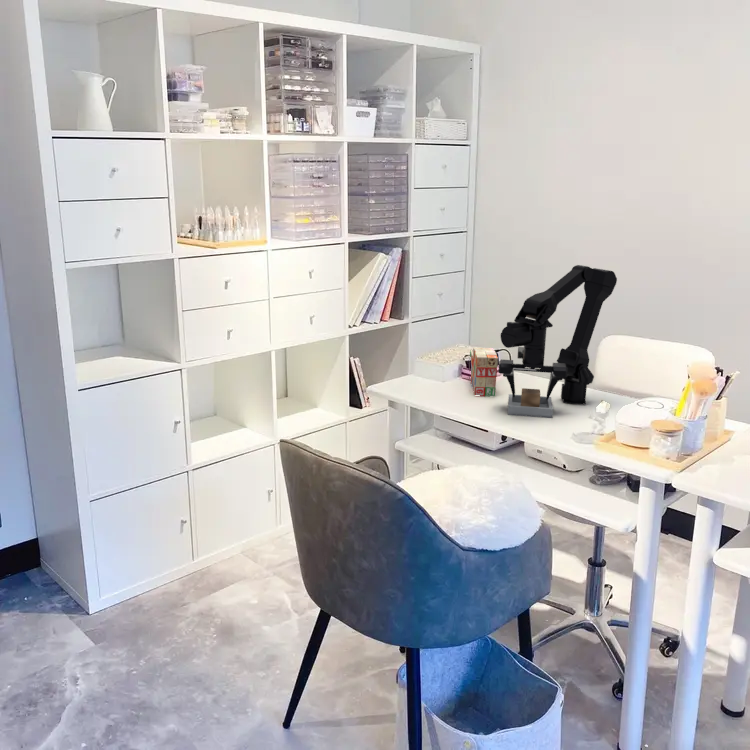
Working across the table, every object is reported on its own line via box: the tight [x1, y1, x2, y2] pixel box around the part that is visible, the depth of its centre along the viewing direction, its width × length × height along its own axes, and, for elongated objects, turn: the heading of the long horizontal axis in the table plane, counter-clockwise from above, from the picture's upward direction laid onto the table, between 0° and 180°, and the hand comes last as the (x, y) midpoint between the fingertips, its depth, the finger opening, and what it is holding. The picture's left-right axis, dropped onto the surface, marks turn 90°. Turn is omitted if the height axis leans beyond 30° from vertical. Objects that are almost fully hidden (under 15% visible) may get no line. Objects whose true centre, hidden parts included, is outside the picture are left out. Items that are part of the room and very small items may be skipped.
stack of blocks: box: [469, 347, 499, 397], centre depth 238 cm, size 21×6×12 cm, turn 178°
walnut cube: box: [520, 387, 541, 407], centre depth 217 cm, size 5×5×5 cm
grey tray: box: [507, 393, 554, 419], centre depth 217 cm, size 12×12×2 cm
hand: (530, 398), depth 217 cm, fingers open, 9 cm apart
